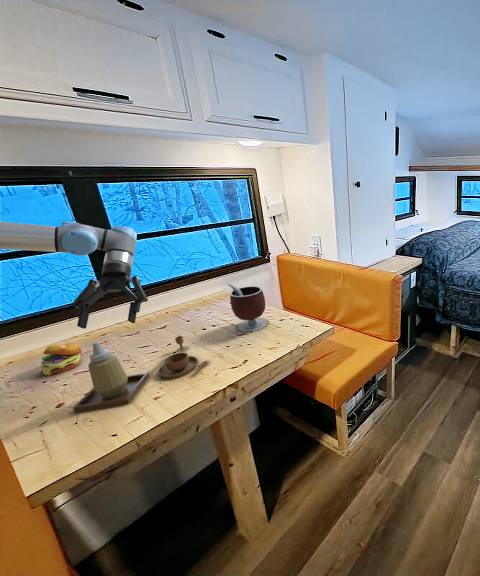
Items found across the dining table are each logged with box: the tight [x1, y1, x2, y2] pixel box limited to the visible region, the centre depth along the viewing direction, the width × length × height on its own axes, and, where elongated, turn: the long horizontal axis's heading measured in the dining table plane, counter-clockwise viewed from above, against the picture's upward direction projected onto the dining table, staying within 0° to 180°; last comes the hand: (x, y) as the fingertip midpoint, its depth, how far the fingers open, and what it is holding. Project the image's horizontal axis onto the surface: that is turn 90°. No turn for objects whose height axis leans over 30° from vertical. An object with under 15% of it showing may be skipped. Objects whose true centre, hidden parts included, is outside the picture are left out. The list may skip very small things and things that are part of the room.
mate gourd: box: [227, 283, 268, 333], centre depth 135 cm, size 16×14×20 cm
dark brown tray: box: [72, 372, 150, 413], centre depth 96 cm, size 14×14×2 cm
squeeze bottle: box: [87, 341, 128, 398], centre depth 93 cm, size 8×8×18 cm
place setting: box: [157, 335, 208, 379], centre depth 111 cm, size 18×20×6 cm
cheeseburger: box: [40, 343, 82, 376], centre depth 110 cm, size 10×11×10 cm
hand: (106, 324), depth 97 cm, fingers open, 13 cm apart
